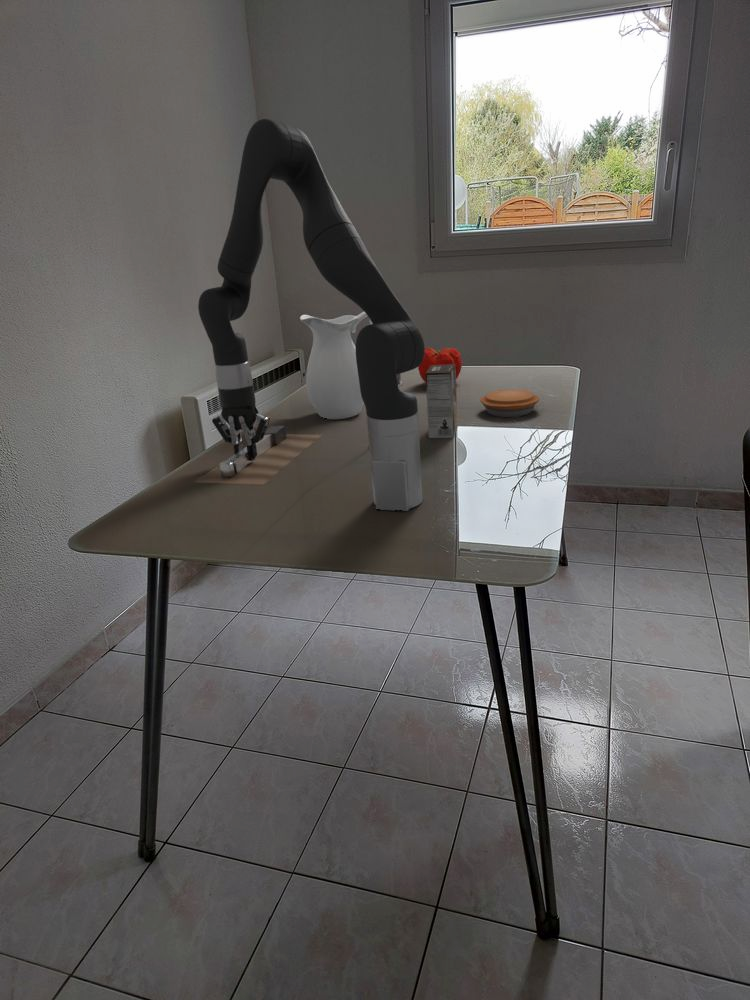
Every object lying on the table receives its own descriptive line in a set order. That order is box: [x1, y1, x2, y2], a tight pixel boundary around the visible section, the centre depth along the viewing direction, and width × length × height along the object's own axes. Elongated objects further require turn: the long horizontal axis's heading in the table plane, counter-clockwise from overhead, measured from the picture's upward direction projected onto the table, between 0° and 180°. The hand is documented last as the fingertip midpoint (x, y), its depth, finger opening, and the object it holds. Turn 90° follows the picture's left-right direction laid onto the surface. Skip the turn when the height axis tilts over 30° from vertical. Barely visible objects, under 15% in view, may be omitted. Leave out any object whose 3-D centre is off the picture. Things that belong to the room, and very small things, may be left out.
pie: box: [479, 389, 540, 418], centre depth 177 cm, size 15×16×5 cm
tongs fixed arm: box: [219, 425, 279, 479], centre depth 153 cm, size 28×3×3 cm, turn 163°
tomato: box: [417, 347, 463, 384], centre depth 211 cm, size 13×14×12 cm
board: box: [194, 433, 323, 486], centre depth 153 cm, size 34×16×2 cm, turn 163°
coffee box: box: [425, 364, 459, 439], centre depth 162 cm, size 9×6×16 cm
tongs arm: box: [231, 425, 287, 473], centre depth 154 cm, size 25×2×3 cm, turn 164°
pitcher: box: [299, 311, 369, 420], centre depth 184 cm, size 24×17×28 cm
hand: (247, 459), depth 150 cm, fingers closed
